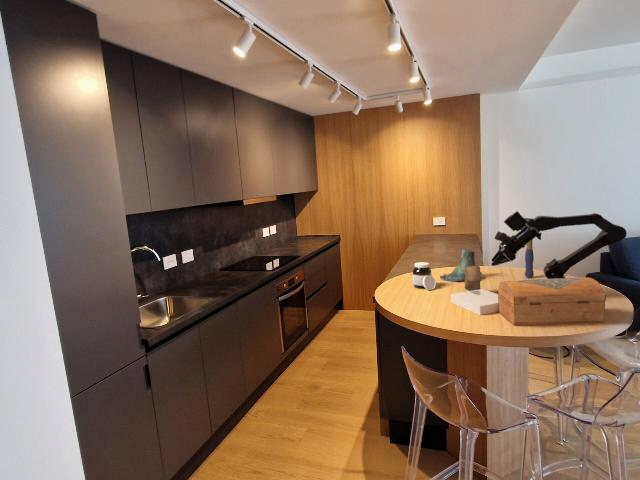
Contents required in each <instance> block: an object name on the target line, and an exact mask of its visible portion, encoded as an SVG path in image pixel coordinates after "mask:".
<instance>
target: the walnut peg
mask: <svg viewBox="0 0 640 480" xmlns="http://www.w3.org/2000/svg"><path fill="white" fill-rule="evenodd" d="M480 272H481V266H480V265H476V264H475V265H468V266H465V282H464V289H465V290H466V291H473V290H479V289H482V288H481V276H480Z"/></svg>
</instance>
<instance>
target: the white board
mask: <svg viewBox="0 0 640 480" xmlns="http://www.w3.org/2000/svg"><path fill="white" fill-rule="evenodd" d="M450 303H452V304H454V305H457V306H458V307H461V308H464V309H466V310H468V311H470V312H472V313H474V314H477V315H479V316H482V315H487V314H488V315H489V314H494V313H499V306H498V293H496V292H492V291H490V290H486V289H483V288H481V289H479V290H473V291H469V290H466V291H462V292H455V293H451V294H450Z"/></svg>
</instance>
